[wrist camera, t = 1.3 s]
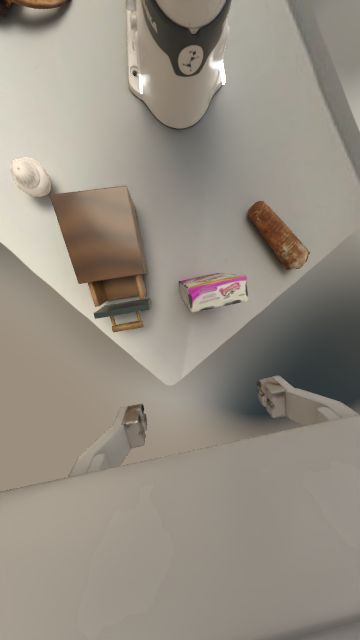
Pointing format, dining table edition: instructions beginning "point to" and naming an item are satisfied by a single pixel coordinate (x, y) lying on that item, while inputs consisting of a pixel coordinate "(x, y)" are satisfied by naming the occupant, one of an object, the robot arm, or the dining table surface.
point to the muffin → (30, 177)
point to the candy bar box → (213, 291)
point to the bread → (278, 236)
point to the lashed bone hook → (31, 4)
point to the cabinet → (101, 233)
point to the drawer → (118, 290)
